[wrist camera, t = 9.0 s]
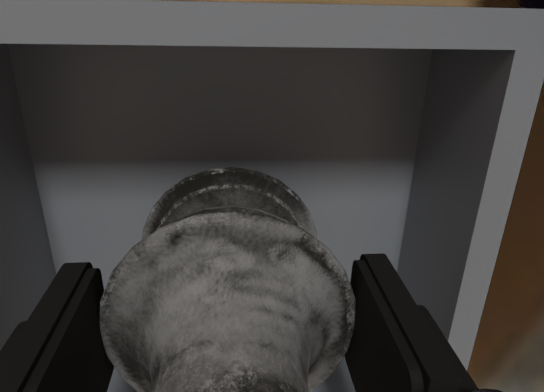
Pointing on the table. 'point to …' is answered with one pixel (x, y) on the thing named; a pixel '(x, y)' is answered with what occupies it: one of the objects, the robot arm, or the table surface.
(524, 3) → the storage jar
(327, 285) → the grey pawn
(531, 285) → the table surface
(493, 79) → the box
